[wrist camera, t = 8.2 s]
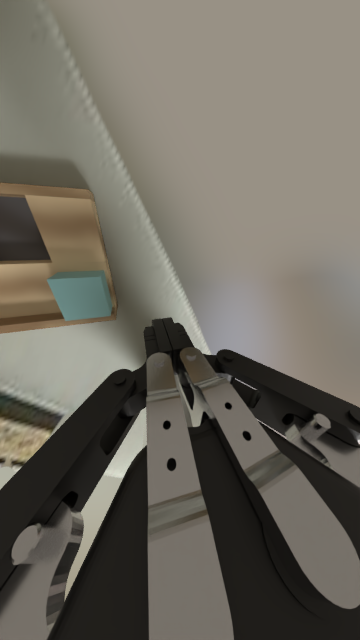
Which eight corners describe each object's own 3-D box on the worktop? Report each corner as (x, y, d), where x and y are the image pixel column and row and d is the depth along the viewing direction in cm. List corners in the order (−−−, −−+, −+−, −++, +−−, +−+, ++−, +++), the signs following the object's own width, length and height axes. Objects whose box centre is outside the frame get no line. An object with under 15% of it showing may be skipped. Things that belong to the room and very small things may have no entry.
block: (112, 305, 21) (110, 316, 19) (73, 309, 20) (65, 321, 18) (104, 270, 19) (100, 276, 16) (58, 272, 17) (46, 279, 15)
